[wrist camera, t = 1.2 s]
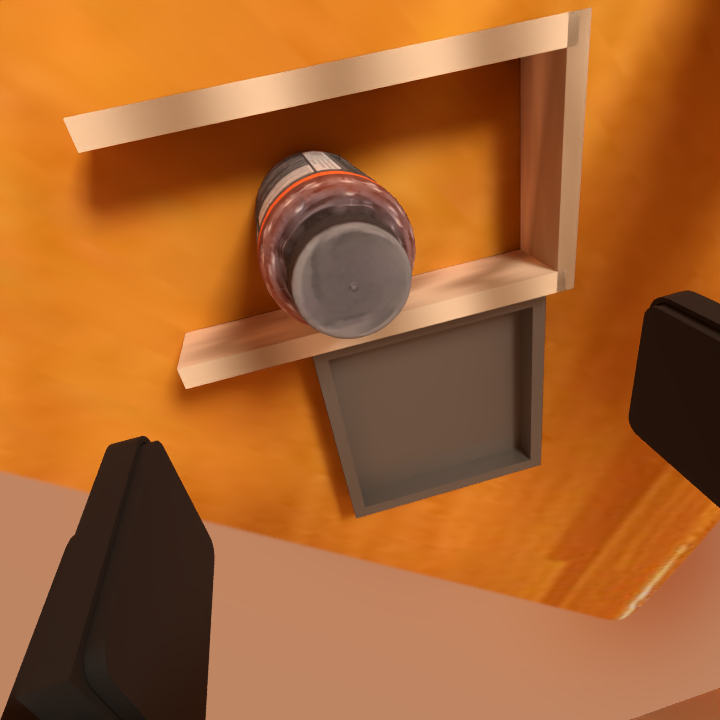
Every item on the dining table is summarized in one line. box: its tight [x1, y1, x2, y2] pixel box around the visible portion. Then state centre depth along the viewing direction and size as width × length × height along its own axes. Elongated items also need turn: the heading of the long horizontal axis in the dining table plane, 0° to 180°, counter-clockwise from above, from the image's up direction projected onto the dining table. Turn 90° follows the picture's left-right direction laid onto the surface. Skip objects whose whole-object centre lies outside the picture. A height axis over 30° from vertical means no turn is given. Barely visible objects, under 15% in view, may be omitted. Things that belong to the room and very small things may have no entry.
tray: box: [312, 296, 546, 518], centre depth 32 cm, size 14×14×2 cm
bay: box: [63, 8, 592, 389], centre depth 23 cm, size 21×12×4 cm, turn 100°
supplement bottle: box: [255, 150, 416, 339], centre depth 20 cm, size 6×6×11 cm
